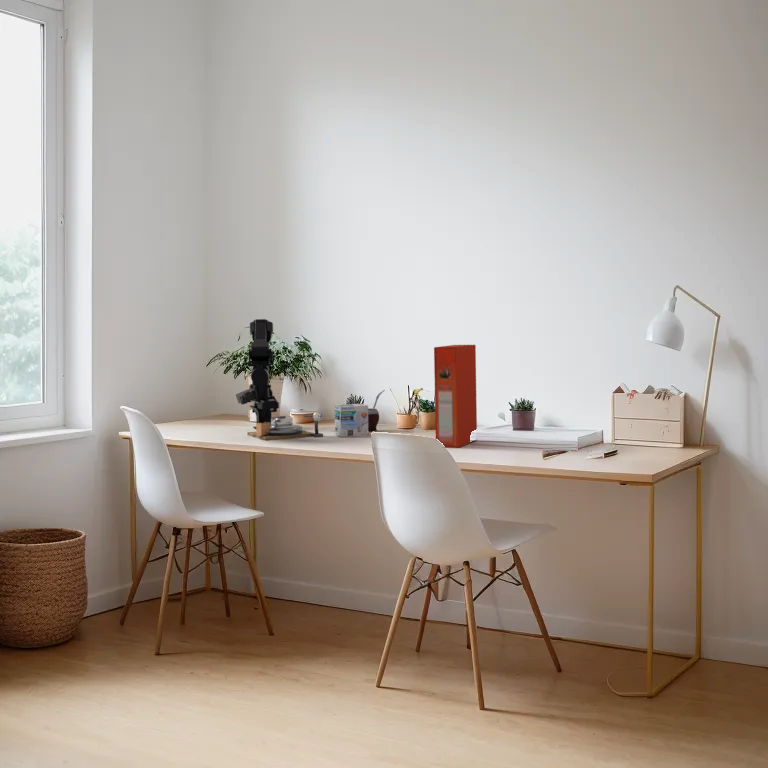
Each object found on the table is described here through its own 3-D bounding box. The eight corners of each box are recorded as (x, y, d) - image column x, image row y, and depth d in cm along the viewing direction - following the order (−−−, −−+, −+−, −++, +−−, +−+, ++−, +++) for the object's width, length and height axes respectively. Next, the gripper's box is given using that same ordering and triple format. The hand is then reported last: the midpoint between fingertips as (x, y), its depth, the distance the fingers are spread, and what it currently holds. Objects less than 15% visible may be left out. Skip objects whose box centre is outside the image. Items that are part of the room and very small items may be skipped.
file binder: (434, 446, 318) (434, 346, 315) (454, 439, 333) (453, 344, 331) (458, 448, 314) (457, 347, 312) (477, 441, 330) (476, 344, 327)
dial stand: (304, 436, 348) (303, 411, 348) (316, 434, 351) (316, 410, 350) (310, 437, 344) (309, 412, 343) (323, 436, 346) (322, 412, 346)
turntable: (243, 434, 346) (243, 421, 346) (280, 428, 361) (280, 416, 360) (274, 437, 337) (274, 424, 337) (311, 431, 352) (311, 419, 351)
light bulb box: (340, 437, 344) (340, 406, 343) (334, 435, 350) (333, 404, 349) (369, 435, 348) (369, 404, 347) (362, 433, 354) (362, 403, 353)
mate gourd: (356, 431, 360) (355, 389, 359) (373, 429, 365) (372, 388, 364) (368, 433, 354) (367, 391, 353) (385, 431, 359) (385, 389, 358)
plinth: (247, 435, 353) (247, 432, 353) (296, 431, 362) (296, 428, 362) (264, 440, 339) (264, 437, 339) (315, 436, 348) (315, 433, 348)
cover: (264, 427, 349) (264, 416, 349) (281, 425, 356) (280, 414, 356) (282, 429, 344) (282, 418, 344) (298, 426, 351) (298, 415, 351)
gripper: (228, 379, 348) (229, 423, 349) (248, 385, 331) (248, 432, 333) (258, 378, 353) (258, 421, 355) (279, 384, 337) (279, 429, 339)
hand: (260, 426), depth 345 cm, fingers closed
